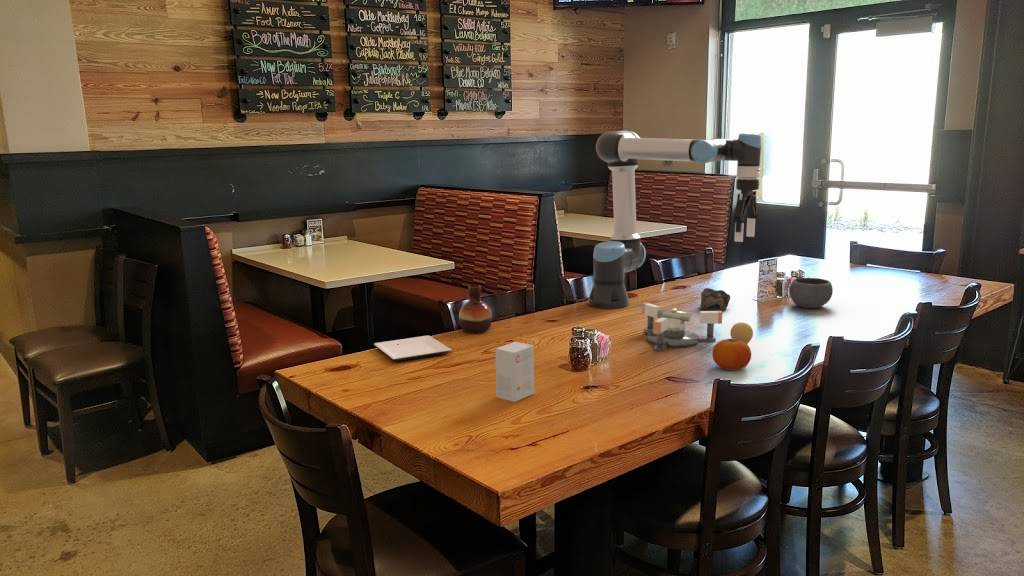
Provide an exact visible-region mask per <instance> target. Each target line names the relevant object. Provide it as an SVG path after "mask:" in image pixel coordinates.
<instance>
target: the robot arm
mask: <svg viewBox="0 0 1024 576" xmlns="http://www.w3.org/2000/svg"><path fill="white" fill-rule="evenodd" d="M595 151H596V153H597V156H598V158H599V159H601V160H602V161H603V162H605V163H607V168H608V169H609V170H610V171H611V178H612V202H613V203H612V204H613V229H614V230H613V235H612V236H610V241H609V240H608V241H602V242H599V243H597V244H596V245H594V248H593V253H592V258H593V272H592V273H593V276H592V277H593V284H592V286H591V287H592V288H591V291H590V293H589V296H588V305H589V306H591V307H593V308H597V309H599V308H600V309H621V308H625V307H626V308H627V307H628V306H629V305H630V303H629V301H630V299H629V295H628V292H627V289H626V286H625V274H626V273H628V272H632V271H635V270H637V269H639V268H640V267H641V266H642V265H643V264H644V263H645V261H646V256H647V251H646V248H645V246H644V245H643V243H642V242H641V241H642V239H641V238H642V236H641V235H640V234H638V232H637V206H636V205H637V204H636V203H637V202H636V177H635V176H636V175H635V174H636V172H635V171H636V169H637V168H638V167H639V160H647V161H649V160H653V161H673V162H674V161H675V162H694V163H700V164H709V163H711V162H713V163H714V162H721V161H722V162H723V161H724V162H725V161H728V162H729V161H733V162H736V161H737V164H736V178H737V179H736V183H735V184H736V187H735V189H736V190H737V191H740V193H737V196H736V204H735V209H734V214H733V219H732V223H733V224H735V225H734V241H733V242H736V243H737V242H739V243H740V242H741V243H743V242H744V227H745V226H744V219H745V216H746V213H747V216H748V218H747V219H746V233H745V236H746V237H749V238H750V237H751V238H754V237H755V235H756V234H755V232H756V219H758V218H759V215H758V214H759V213H758V204H757V203H758V202H757V191H758V190H759V187H760V186H759V185H760V180H759V178H760V173H761V171H762V168H760V167H761V154H762V153H761V151H762V136H761V134H760V133H758V132H756V133H754V132H751V133H747V132H745V133H739V134H738V138H708V139H689V138H688V139H687V138H657V137H656V138H654V137H653V138H652V137H640V136H639V135H638V134H637V133H636V132H634V131H631V130H625V129H624V130H611V131H610V130H608V131H606V132H604V133H602V134H601V135H599V137H598V139H597V140H596V144H595Z"/></svg>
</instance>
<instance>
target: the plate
mask: <svg viewBox="0 0 1024 576" xmlns="http://www.w3.org/2000/svg"><path fill="white" fill-rule="evenodd" d="M397 344H399V345H397ZM373 345H374V346H375V347H376V348H377V349H379V351H382V352H383V353H384V354H385V355H386V356H388V357H389V358H390V359H392V360H393V361H398V362H400V361H407V360H412V359H419V358H426V357H431V356H437V355H443V354H446V353H449V352H452V350H453V349H451V348H450V347H449V346H447V345H445V344H443V343H442V342H441V341H439V340H437V339H435V338H434V337H432V336H431V335H429V334H428V335H422V336H414V337H409V338H408V337H407V338H403V339H402V338H401V339H395V340H389V341H388V340H387V341H381V342H375V343H373Z"/></svg>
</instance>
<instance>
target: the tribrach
mask: <svg viewBox="0 0 1024 576" xmlns="http://www.w3.org/2000/svg"><path fill="white" fill-rule="evenodd" d="M661 317H662V318H668V319H667V330H665V331H664V336H663V346H657V334H653V329H647V328H644V329H643V332H644V333H645V334H647V342H648V343H650V344H652V345H654V346H653V349H652V350H653V351H658V352H665V350H667V349H668V348H675V349H676V348H677V349H679V348H690V347H694V346H697V345H698V344H699V343H700V342H702V343H703V342H706V343H707V342H710V343H712V342H716V343H717V341H716V340H717V339H716V338H717V337H715V336H714V335H713V337H707V335H698V334H697V333H696V332H692V331H690V330H689V331H688V330H686V329H685V328H686V323H687V322H690V321H691V317H692V314H691V312H686V311H678V308H676V307H675V308H670V310H669V309H661V308H660V309H659V310H658V312H657V317H656V318H658V319H659V318H661Z"/></svg>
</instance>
